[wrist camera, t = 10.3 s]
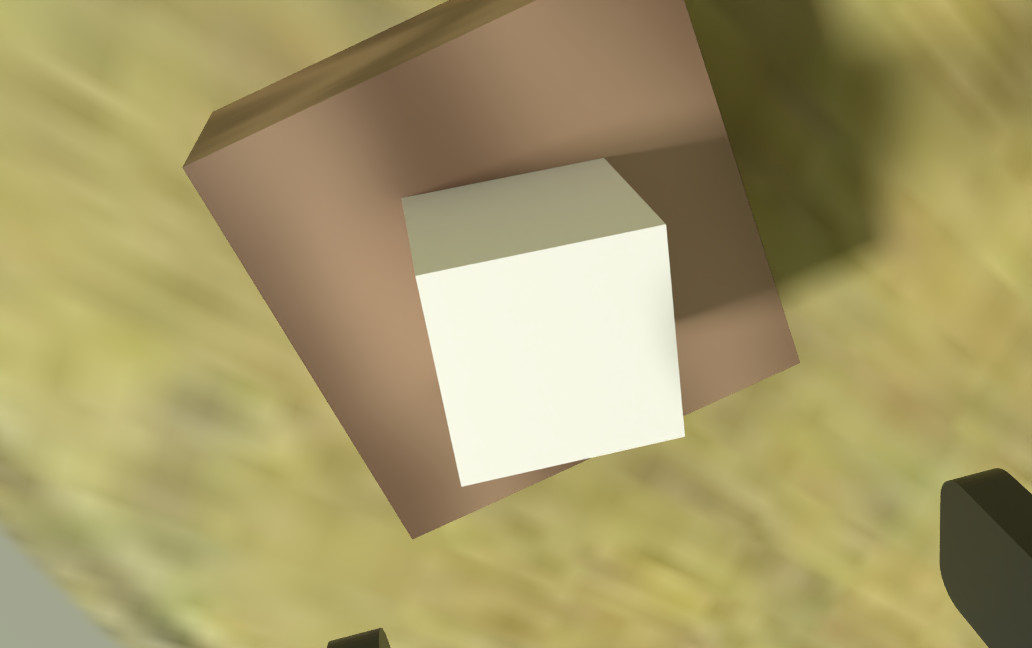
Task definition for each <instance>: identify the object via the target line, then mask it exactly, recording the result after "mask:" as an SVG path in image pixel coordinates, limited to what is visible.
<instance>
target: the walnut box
mask: <svg viewBox="0 0 1032 648" xmlns="http://www.w3.org/2000/svg"><path fill="white" fill-rule="evenodd" d="M600 158H604V159H605V160H606V161H607V162H608V163H609V164H610V165H611V166H612V167H613V168H614V169H615V170H616V171H617V172H618V173H619V175H620V176H621V177H622V178H623V179H624V180H625V181H626V182H627V183H628V184H629V185H630V186H631V187H632V188H633V189H634V191H635V192H636V193H637V194H638V195H639V196H640V197H641V198H642V199H643V200H644V201H645V202H646V203H647V204H648V206H649V207H650V208H651V209H652V210H653V211H654V212H655V213H656V214H657V215H658V216H659V217H660V218H661V219H662V220H663V222H664V223H665V224H666V229H667V241H668V252H669V263H670V275H671V286H672V297H673V309H674V320H675V331H676V343H677V354H678V365H679V377H680V388H681V399H682V411H683V416H684V415H687V414H689V413H691V412H693V411H695V410H698V409H700V408H702V407H704V406H706V405H708V404H711V403H713V402H715V401H717V400H719V399H722V398H724V397H726V396H728V395H730V394H733V393H735V392H737V391H739V390H741V389H744V388H746V387H748V386H750V385H752V384H755V383H757V382H759V381H761V380H763V379H766V378H768V377H770V376H772V375H774V374H777V373H779V372H781V371H783V370H785V369H787V368H790V367H792V366H794V365H796V364H798V363H800V361H799V358H798V355H797V351H796V348H795V345H794V342H793V339H792V336H791V333H790V330H789V326H788V323H787V320H786V317H785V314H784V311H783V308H782V305H781V301H780V298H779V295H778V292H777V289H776V286H775V283H774V280H773V276H772V273H771V270H770V267H769V264H768V261H767V258H766V254H765V251H764V248H763V245H762V242H761V239H760V236H759V233H758V229H757V226H756V223H755V220H754V217H753V214H752V211H751V208H750V204H749V201H748V198H747V195H746V192H745V189H744V186H743V183H742V179H741V176H740V173H739V170H738V167H737V164H736V161H735V158H734V154H733V151H732V148H731V145H730V142H729V139H728V136H727V133H726V129H725V126H724V123H723V120H722V117H721V114H720V111H719V108H718V104H717V101H716V98H715V95H714V92H713V89H712V86H711V83H710V79H709V76H708V73H707V70H706V67H705V64H704V61H703V58H702V54H701V51H700V48H699V45H698V42H697V39H696V36H695V33H694V29H693V26H692V23H691V20H690V17H689V14H688V11H687V8H686V4H685V1H684V0H449V1H447V2H444V3H442V4H440V5H438V6H436V7H434V8H432V9H430V10H428V11H425V12H423V13H421V14H419V15H417V16H415V17H413V18H411V19H409V20H406V21H404V22H402V23H400V24H398V25H396V26H394V27H392V28H389V29H387V30H385V31H383V32H381V33H379V34H377V35H375V36H373V37H370V38H368V39H366V40H364V41H362V42H360V43H358V44H356V45H354V46H351V47H349V48H347V49H345V50H343V51H341V52H339V53H337V54H335V55H332V56H330V57H328V58H326V59H324V60H322V61H320V62H318V63H316V64H313V65H311V66H309V67H307V68H305V69H303V70H301V71H299V72H297V73H294V74H292V75H290V76H288V77H286V78H284V79H282V80H280V81H277V82H275V83H273V84H271V85H269V86H267V87H265V88H263V89H261V90H258V91H256V92H254V93H252V94H250V95H248V96H246V97H244V98H242V99H239V100H237V101H235V102H233V103H231V104H229V105H227V106H225V107H223V108H220V109H218V110H216V111H214V112H212V114H211V116H210V118H209V120H208V121H207V123H206V125H205V127H204V129H203V131H202V132H201V134H200V136H199V138H198V140H197V142H196V143H195V145H194V147H193V149H192V151H191V153H190V154H189V156H188V158H187V160H186V162H185V164H184V165H183V169H184V171H185V172H186V174H187V175H188V177H189V179H190V180H191V182H192V184H193V185H194V187H195V188H196V190H197V192H198V193H199V195H200V196H201V198H202V200H203V201H204V203H205V205H206V206H207V208H208V209H209V211H210V213H211V214H212V216H213V218H214V219H215V221H216V222H217V224H218V226H219V227H220V229H221V230H222V232H223V234H224V235H225V237H226V239H227V240H228V242H229V243H230V245H231V247H232V248H233V250H234V251H235V253H236V255H237V256H238V258H239V260H240V261H241V263H242V264H243V266H244V268H245V269H246V271H247V272H248V274H249V276H250V277H251V279H252V281H253V282H254V284H255V285H256V287H257V289H258V290H259V292H260V294H261V295H262V297H263V298H264V300H265V302H266V303H267V305H268V306H269V308H270V310H271V311H272V313H273V315H274V316H275V318H276V319H277V321H278V323H279V324H280V326H281V327H282V329H283V331H284V332H285V334H286V336H287V337H288V339H289V340H290V342H291V344H292V345H293V347H294V349H295V350H296V352H297V353H298V355H299V357H300V358H301V360H302V361H303V363H304V365H305V366H306V368H307V370H308V371H309V373H310V374H311V376H312V378H313V379H314V381H315V382H316V384H317V386H318V387H319V389H320V391H321V392H322V394H323V395H324V397H325V399H326V400H327V402H328V403H329V405H330V407H331V408H332V410H333V412H334V413H335V415H336V416H337V418H338V420H339V421H340V423H341V425H342V426H343V428H344V429H345V431H346V433H347V434H348V436H349V437H350V439H351V441H352V442H353V444H354V446H355V447H356V449H357V450H358V452H359V454H360V455H361V457H362V458H363V460H364V462H365V463H366V465H367V467H368V468H369V470H370V471H371V473H372V475H373V476H374V478H375V480H376V481H377V483H378V484H379V486H380V488H381V489H382V491H383V492H384V494H385V496H386V497H387V499H388V501H389V502H390V504H391V505H392V507H393V509H394V510H395V512H396V513H397V515H398V517H399V518H400V520H401V522H402V523H403V525H404V526H405V528H406V530H407V531H408V533H409V534H410V536H411V538H412V539H414V538H417V537H419V536H421V535H423V534H425V533H428V532H430V531H432V530H434V529H436V528H439V527H441V526H443V525H445V524H447V523H450V522H452V521H454V520H456V519H458V518H461V517H463V516H465V515H467V514H469V513H472V512H474V511H476V510H478V509H480V508H482V507H485V506H487V505H489V504H491V503H493V502H496V501H498V500H500V499H502V498H504V497H507V496H509V495H511V494H513V493H515V492H518V491H520V490H522V489H524V488H526V487H529V486H531V485H533V484H535V483H537V482H540V481H542V480H544V479H546V478H548V477H551V476H553V475H555V474H557V473H559V472H561V471H564V470H566V469H568V468H570V467H572V466H575V465H577V464H579V463H581V462H583V461H586V460H588V459H590V458H587V459H583V460H578V461H574V462H569V463H565V464H561V465H556V466H552V467H547V468H543V469H538V470H534V471H529V472H525V473H521V474H516V475H512V476H507V477H503V478H498V479H494V480H489V481H485V482H481V483H476V484H472V485H467V486H463V487H461V483H460V478H459V473H458V469H457V464H456V460H455V455H454V451H453V446H452V441H451V437H450V432H449V428H448V423H447V419H446V414H445V409H444V405H443V400H442V396H441V391H440V386H439V382H438V377H437V373H436V368H435V364H434V359H433V354H432V350H431V345H430V341H429V336H428V332H427V327H426V322H425V318H424V313H423V309H422V304H421V300H420V295H419V290H418V286H417V281H416V277H415V271H414V266H413V260H412V255H411V249H410V243H409V238H408V232H407V227H406V221H405V216H404V210H403V204H402V199H401V198H404V197H409V196H414V195H420V194H425V193H430V192H435V191H440V190H445V189H450V188H455V187H460V186H465V185H470V184H475V183H480V182H485V181H490V180H495V179H500V178H505V177H510V176H515V175H520V174H525V173H530V172H535V171H540V170H545V169H550V168H555V167H560V166H565V165H570V164H575V163H580V162H585V161H590V160H595V159H600Z"/></svg>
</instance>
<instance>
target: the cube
mask: <svg viewBox="0 0 1032 648" xmlns="http://www.w3.org/2000/svg"><path fill="white" fill-rule="evenodd" d="M401 199H402V204H403V210H404V216H405V221H406V227H407V232H408V238H409V243H410V249H411V255H412V260H413V266H414V271H415V277H416V281H417V286H418V290H419V295H420V300H421V304H422V309H423V313H424V318H425V322H426V327H427V332H428V336H429V341H430V345H431V350H432V354H433V359H434V364H435V368H436V373H437V377H438V382H439V386H440V391H441V396H442V400H443V405H444V409H445V414H446V419H447V423H448V428H449V432H450V437H451V441H452V446H453V451H454V455H455V460H456V464H457V469H458V473H459V478H460V483H461V487H463V486H467V485H472V484H476V483H481V482H485V481H489V480H494V479H498V478H503V477H507V476H512V475H516V474H521V473H525V472H529V471H534V470H538V469H543V468H547V467H552V466H556V465H561V464H565V463H569V462H574V461H578V460H583V459H587V458H592V457H596V456H601V455H605V454H610V453H614V452H618V451H623V450H627V449H632V448H636V447H641V446H645V445H650V444H654V443H658V442H663V441H667V440H672V439H676V438H681V437H685V433H684V422H683V411H682V399H681V388H680V377H679V365H678V354H677V343H676V331H675V320H674V309H673V297H672V286H671V275H670V263H669V252H668V241H667V229H666V224H665V223H664V222H663V220H662V219H661V218H660V217H659V216H658V215H657V214H656V213H655V212H654V211H653V210H652V209H651V208H650V207H649V206H648V204H647V203H646V202H645V201H644V200H643V199H642V198H641V197H640V196H639V195H638V194H637V193H636V192H635V191H634V189H633V188H632V187H631V186H630V185H629V184H628V183H627V182H626V181H625V180H624V179H623V178H622V177H621V176H620V175H619V173H618V172H617V171H616V170H615V169H614V168H613V167H612V166H611V165H610V164H609V163H608V162H607V161H606V160H605V159H604V158H600V159H595V160H590V161H585V162H580V163H575V164H570V165H565V166H560V167H555V168H550V169H545V170H540V171H535V172H530V173H525V174H520V175H515V176H510V177H505V178H500V179H495V180H490V181H485V182H480V183H475V184H470V185H465V186H460V187H455V188H450V189H445V190H440V191H435V192H430V193H425V194H420V195H414V196H409V197H404V198H401Z"/></svg>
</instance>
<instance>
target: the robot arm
mask: <svg viewBox="0 0 1032 648" xmlns="http://www.w3.org/2000/svg"><path fill="white" fill-rule="evenodd" d="M940 570H941V575H942V579H943V582H944V585H945V587H946V590H947V592H948V594H949V596H950V598H951V600H952V602H953V603H954V605H955V606H956V608H957V609H958V610H959V612H960V613H961V614H962V615H963V617H964V618H965V619H966V620H967V621H968V623H969V624H970V625H971V626H972V628H973V629H974V630H975V631H976V632H977V634H978V635H979V636H980V637H981V639H982V640H983V641H984V642H985V643H986V645H987V646H988V647H989V648H1032V494H1031V493H1030V492H1029V491H1028V490H1027V489H1025V488H1024V487H1023V486H1022V485H1021V484H1020V483H1019V482H1018V481H1017V480H1016V479H1015V478H1013V477H1012V476H1011V475H1010V474H1009V473H1008V472H1006V471H1005V470H1003V469H1000V468H995V469H991V470H987V471H984V472H980V473H976V474H972V475H968V476H965V477H961V478H957V479H953V480H949V481H946V482H945V483H944V484H943V486H942V489H941V502H940ZM327 648H390V645H389V642H388V639H387V637H386V634H385V632H384V630H383V629H382V628H378V629H375V630H371V631H367V632H363V633H359V634H356V635H352V636H348V637H344V638H340V639H336V640H333V641H330V642H329V643H328V646H327Z"/></svg>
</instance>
